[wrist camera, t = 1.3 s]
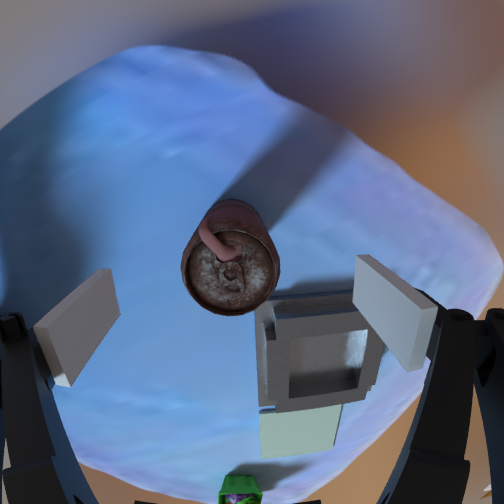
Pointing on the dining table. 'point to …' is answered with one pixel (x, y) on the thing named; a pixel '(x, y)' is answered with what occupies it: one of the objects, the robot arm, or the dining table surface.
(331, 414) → the mat
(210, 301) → the can
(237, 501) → the fruit basket
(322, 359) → the socket block
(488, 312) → the robot arm
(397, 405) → the dining table surface
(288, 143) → the dining table surface
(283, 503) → the dining table surface
